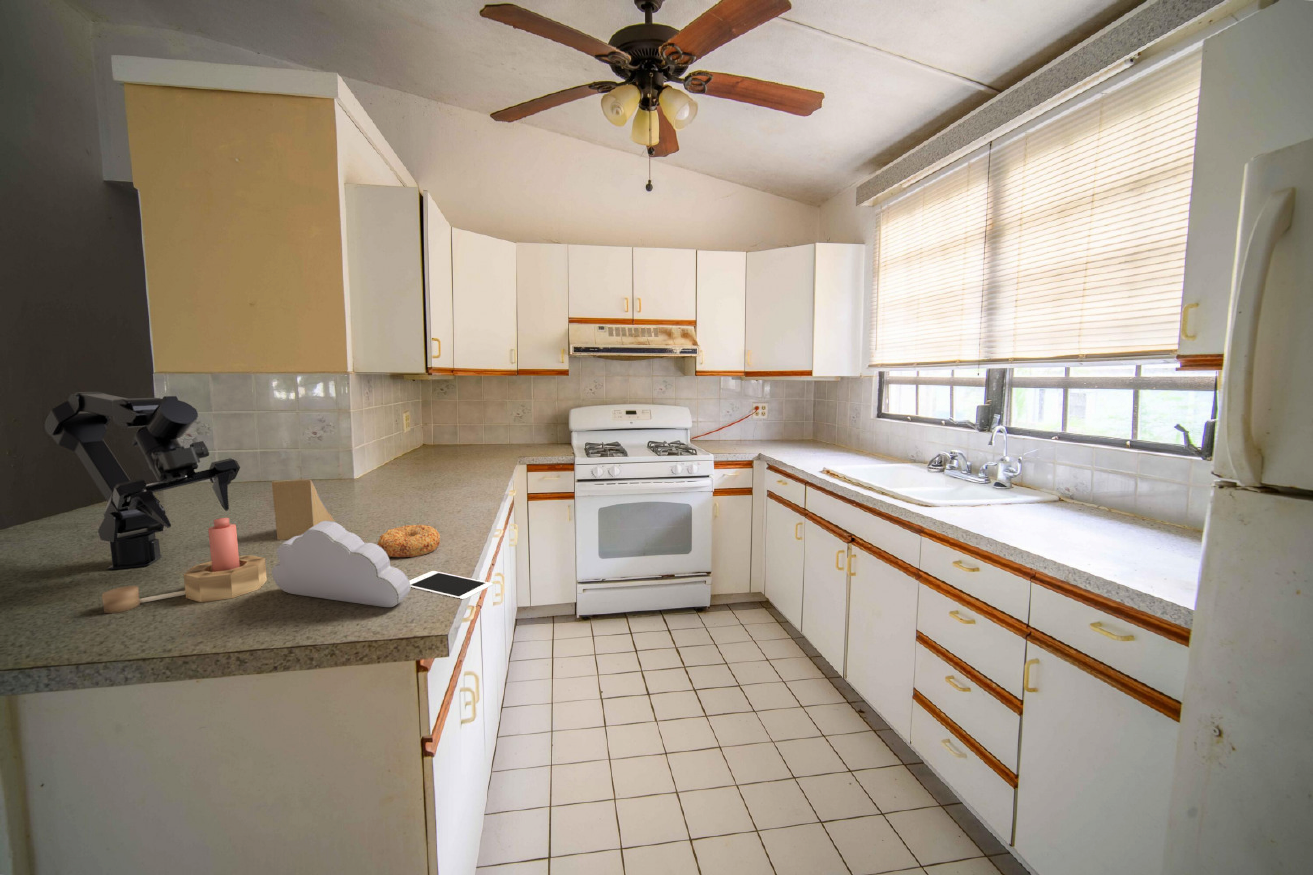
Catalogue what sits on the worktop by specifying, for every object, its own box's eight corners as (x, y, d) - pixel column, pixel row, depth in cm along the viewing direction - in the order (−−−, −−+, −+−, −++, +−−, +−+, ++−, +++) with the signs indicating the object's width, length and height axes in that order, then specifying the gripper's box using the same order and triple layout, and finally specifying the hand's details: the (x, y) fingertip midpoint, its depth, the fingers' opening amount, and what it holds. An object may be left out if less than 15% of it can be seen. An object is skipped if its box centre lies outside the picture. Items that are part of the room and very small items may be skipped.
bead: (177, 605, 92) (175, 580, 92) (203, 582, 102) (201, 560, 102) (254, 595, 96) (252, 571, 96) (271, 574, 107) (269, 553, 106)
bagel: (400, 540, 129) (399, 521, 129) (451, 543, 127) (451, 523, 127) (364, 558, 117) (363, 536, 116) (421, 561, 115) (419, 539, 114)
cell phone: (432, 573, 108) (432, 570, 108) (493, 586, 102) (493, 583, 102) (400, 587, 101) (400, 583, 101) (463, 602, 95) (463, 598, 95)
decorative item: (257, 600, 95) (250, 519, 93) (306, 580, 104) (300, 506, 102) (386, 620, 87) (380, 532, 85) (426, 597, 96) (422, 517, 95)
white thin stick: (117, 608, 91) (116, 603, 91) (118, 606, 92) (117, 602, 92) (208, 590, 98) (207, 586, 98) (208, 589, 99) (207, 585, 99)
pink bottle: (208, 593, 97) (201, 522, 96) (225, 584, 101) (219, 516, 100) (230, 593, 98) (224, 522, 96) (246, 584, 101) (240, 516, 100)
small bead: (98, 614, 88) (95, 597, 88) (112, 604, 92) (110, 588, 92) (132, 610, 90) (130, 593, 90) (145, 600, 94) (143, 584, 94)
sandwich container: (337, 521, 146) (333, 468, 144) (315, 538, 131) (311, 479, 129) (302, 523, 144) (297, 469, 142) (276, 540, 129) (271, 480, 127)
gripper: (101, 443, 93) (141, 517, 91) (227, 421, 108) (263, 484, 106) (97, 473, 99) (134, 543, 97) (217, 448, 114) (250, 508, 113)
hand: (199, 518), depth 103 cm, fingers open, 9 cm apart
